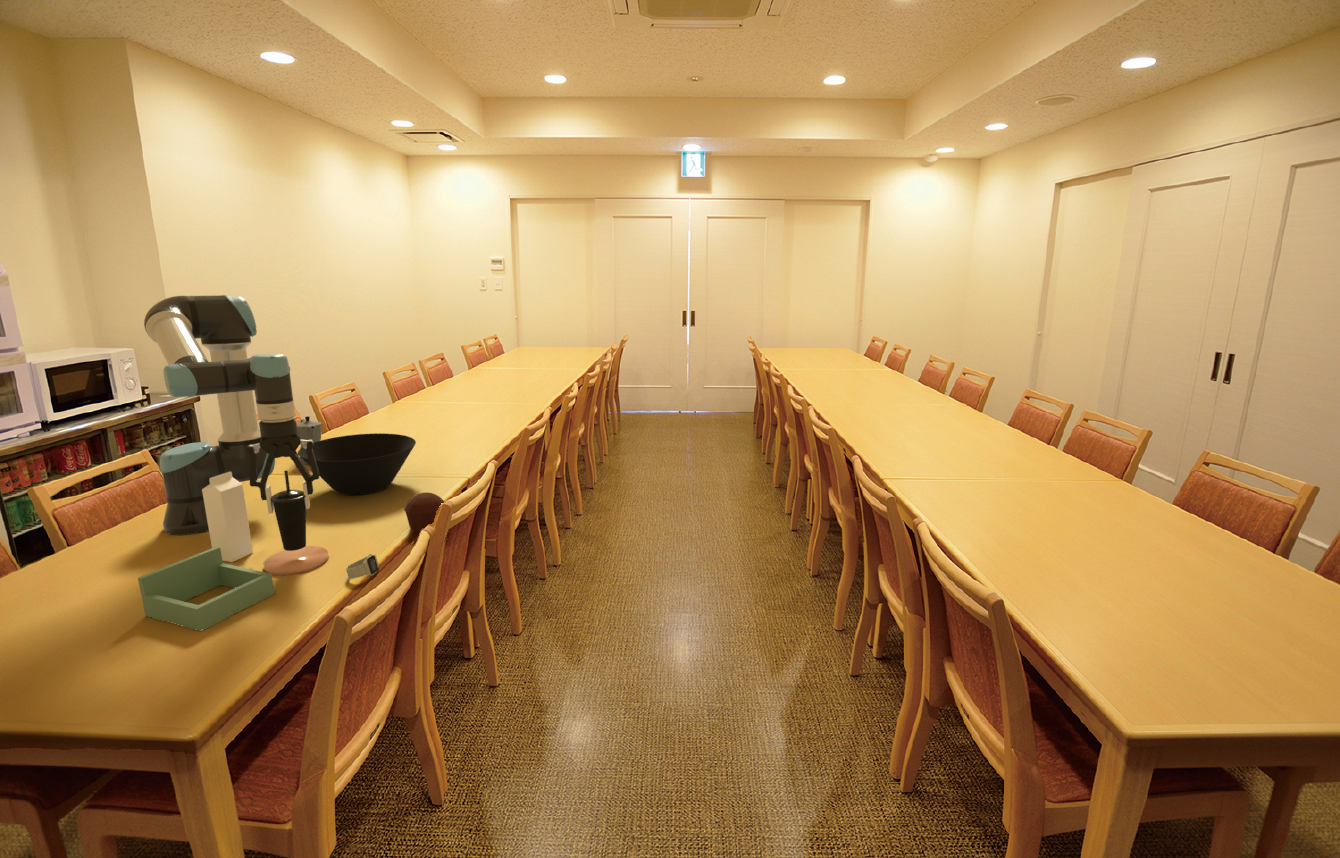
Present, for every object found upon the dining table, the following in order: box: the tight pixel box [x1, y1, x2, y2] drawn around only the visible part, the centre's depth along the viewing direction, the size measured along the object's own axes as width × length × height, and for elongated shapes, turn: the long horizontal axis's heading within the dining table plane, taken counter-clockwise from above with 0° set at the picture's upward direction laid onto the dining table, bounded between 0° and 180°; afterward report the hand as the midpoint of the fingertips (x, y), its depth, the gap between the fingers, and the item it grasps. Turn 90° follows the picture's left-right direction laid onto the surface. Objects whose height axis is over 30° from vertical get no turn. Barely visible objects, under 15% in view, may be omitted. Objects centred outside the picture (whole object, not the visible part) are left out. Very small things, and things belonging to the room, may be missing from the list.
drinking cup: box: [271, 470, 307, 551], centre depth 152 cm, size 8×8×20 cm
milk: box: [202, 472, 254, 563], centre depth 156 cm, size 6×6×22 cm
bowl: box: [297, 432, 417, 496], centre depth 209 cm, size 36×36×15 cm
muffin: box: [403, 492, 445, 534], centre depth 177 cm, size 12×11×10 cm
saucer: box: [263, 545, 329, 576], centre depth 155 cm, size 14×14×1 cm
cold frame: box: [137, 547, 275, 632], centre depth 134 cm, size 16×16×9 cm
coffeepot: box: [296, 416, 322, 466], centre depth 238 cm, size 15×9×18 cm, turn 44°
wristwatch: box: [345, 553, 380, 579], centre depth 150 cm, size 9×6×5 cm
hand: (289, 509), depth 152 cm, fingers closed on drinking cup, 7 cm apart
